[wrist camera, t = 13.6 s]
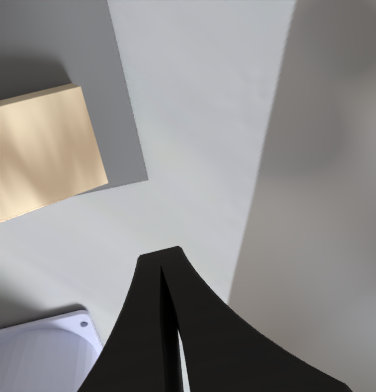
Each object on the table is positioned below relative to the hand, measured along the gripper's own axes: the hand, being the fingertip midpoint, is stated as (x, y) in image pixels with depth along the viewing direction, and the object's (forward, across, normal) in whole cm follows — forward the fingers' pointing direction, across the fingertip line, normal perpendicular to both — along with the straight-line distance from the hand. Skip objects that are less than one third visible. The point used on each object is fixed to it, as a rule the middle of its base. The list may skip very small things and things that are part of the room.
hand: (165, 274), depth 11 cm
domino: (+9, +2, -2) cm, 10 cm away
